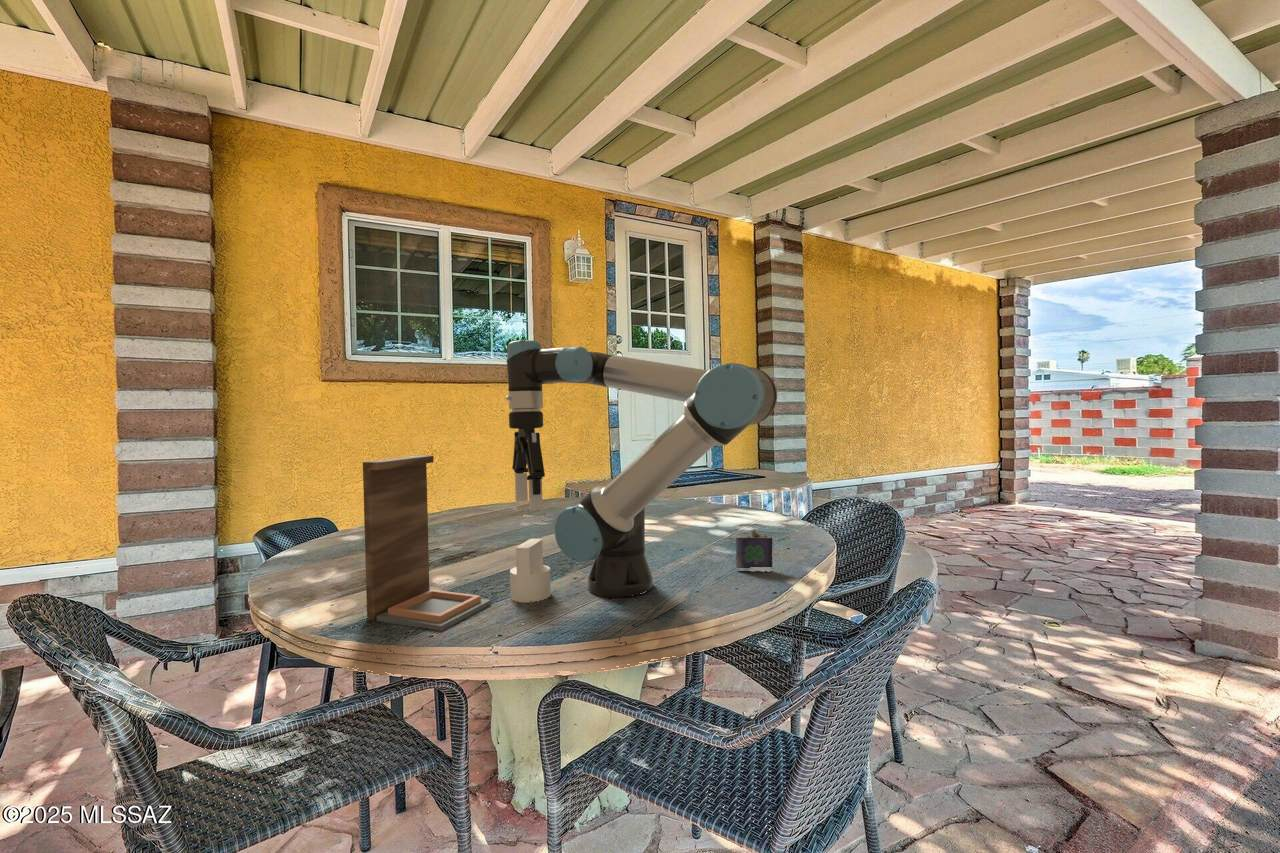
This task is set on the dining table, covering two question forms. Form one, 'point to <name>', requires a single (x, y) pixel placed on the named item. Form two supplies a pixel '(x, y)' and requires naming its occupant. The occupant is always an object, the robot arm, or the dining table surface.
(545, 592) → the cylinder with rectangular tab
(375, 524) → the brown wooden panel
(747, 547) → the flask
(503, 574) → the dining table surface
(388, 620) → the square coaster tray
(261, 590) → the dining table surface
